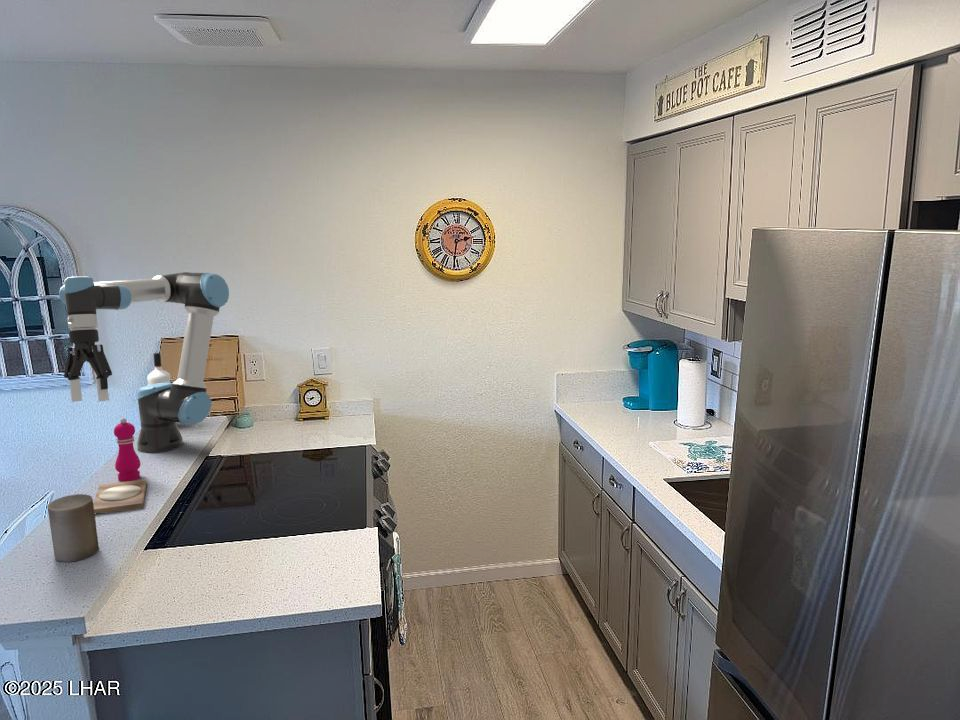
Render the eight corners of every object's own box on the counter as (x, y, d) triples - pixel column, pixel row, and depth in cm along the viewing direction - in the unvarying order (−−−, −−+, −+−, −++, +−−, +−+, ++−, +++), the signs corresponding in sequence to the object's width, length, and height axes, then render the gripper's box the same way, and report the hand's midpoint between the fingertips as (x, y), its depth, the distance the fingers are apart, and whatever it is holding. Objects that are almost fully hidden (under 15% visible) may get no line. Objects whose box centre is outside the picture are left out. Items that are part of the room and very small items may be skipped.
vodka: (151, 424, 276) (144, 351, 270) (176, 422, 279) (170, 350, 273) (149, 430, 267) (142, 355, 261) (175, 428, 271) (169, 354, 265)
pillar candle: (101, 541, 176) (94, 486, 173) (96, 558, 167) (88, 501, 164) (58, 548, 172) (50, 492, 169) (50, 565, 163) (41, 507, 160)
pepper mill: (131, 483, 215) (125, 422, 211) (111, 481, 216) (104, 420, 212) (146, 475, 221) (141, 415, 217) (127, 473, 223) (121, 414, 219)
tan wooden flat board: (100, 489, 210) (99, 483, 209) (146, 483, 214) (146, 477, 214) (91, 514, 191) (90, 508, 191) (142, 507, 196) (142, 501, 196)
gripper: (46, 332, 204) (53, 402, 205) (95, 327, 191) (102, 402, 192) (72, 331, 210) (78, 399, 211) (121, 326, 198) (127, 399, 199)
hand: (90, 401), depth 202 cm, fingers open, 13 cm apart
